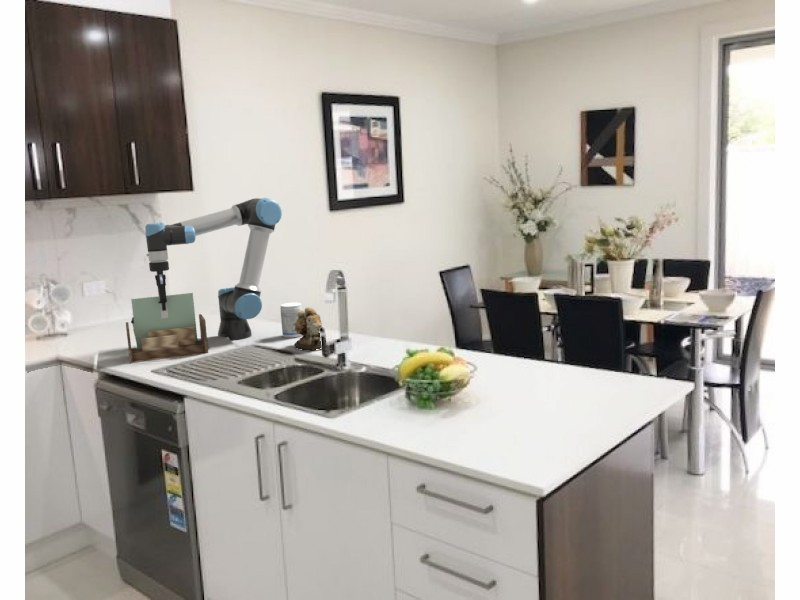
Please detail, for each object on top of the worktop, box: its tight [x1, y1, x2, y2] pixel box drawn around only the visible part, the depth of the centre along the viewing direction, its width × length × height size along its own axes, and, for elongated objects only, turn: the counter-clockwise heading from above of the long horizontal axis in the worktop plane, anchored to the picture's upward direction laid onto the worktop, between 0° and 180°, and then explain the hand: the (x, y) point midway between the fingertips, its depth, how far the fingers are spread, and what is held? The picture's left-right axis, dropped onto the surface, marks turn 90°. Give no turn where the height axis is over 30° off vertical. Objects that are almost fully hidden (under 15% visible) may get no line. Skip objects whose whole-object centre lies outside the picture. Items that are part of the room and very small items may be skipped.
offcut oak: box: [148, 327, 195, 346], centre depth 284 cm, size 18×1×10 cm, turn 112°
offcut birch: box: [141, 335, 179, 352], centre depth 279 cm, size 14×1×8 cm, turn 112°
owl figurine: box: [293, 306, 323, 351], centre depth 290 cm, size 18×12×17 cm, turn 41°
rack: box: [125, 314, 209, 364], centre depth 281 cm, size 30×14×16 cm, turn 112°
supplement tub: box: [279, 302, 303, 339], centre depth 313 cm, size 10×10×15 cm
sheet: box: [130, 292, 199, 349], centre depth 284 cm, size 24×1×22 cm, turn 112°
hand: (164, 317), depth 284 cm, fingers closed on sheet
